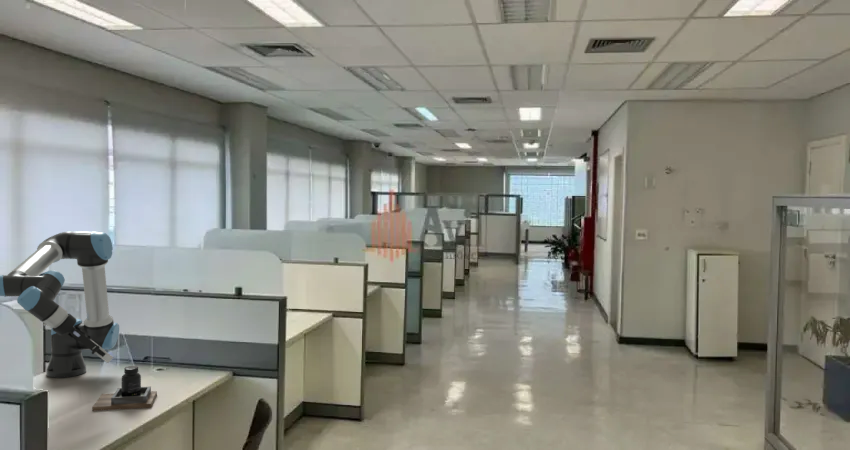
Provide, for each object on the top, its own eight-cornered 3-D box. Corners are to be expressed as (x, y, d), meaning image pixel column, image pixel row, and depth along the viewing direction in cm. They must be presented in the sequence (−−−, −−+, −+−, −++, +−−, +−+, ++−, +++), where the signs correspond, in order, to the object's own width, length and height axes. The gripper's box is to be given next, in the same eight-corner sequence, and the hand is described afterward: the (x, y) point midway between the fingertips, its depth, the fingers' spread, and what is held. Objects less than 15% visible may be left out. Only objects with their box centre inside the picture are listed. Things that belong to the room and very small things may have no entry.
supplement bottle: (118, 397, 239) (118, 366, 239) (136, 393, 244) (137, 363, 243) (125, 402, 234) (125, 370, 234) (143, 398, 239) (144, 367, 239)
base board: (101, 397, 243) (101, 387, 243) (156, 394, 249) (156, 385, 248) (92, 410, 229) (92, 400, 229) (150, 407, 234) (151, 397, 234)
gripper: (44, 322, 229) (89, 356, 240) (58, 336, 211) (106, 372, 221) (61, 307, 233) (104, 341, 243) (76, 319, 214) (122, 355, 224)
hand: (105, 356), depth 232 cm, fingers open, 13 cm apart
